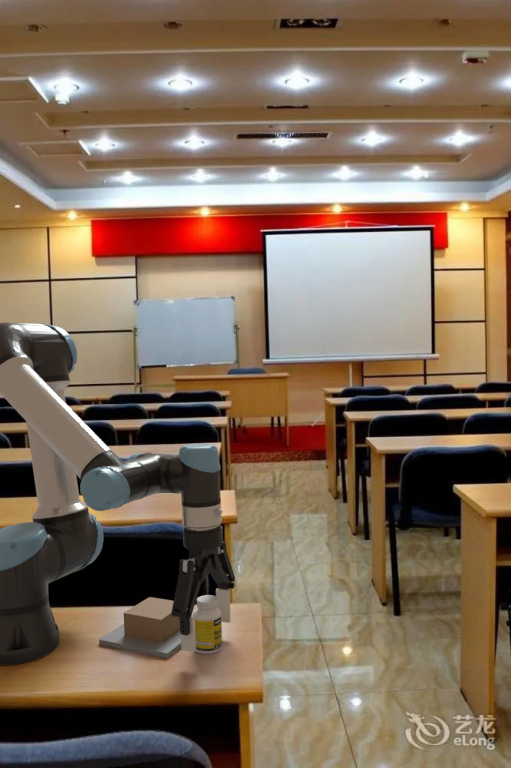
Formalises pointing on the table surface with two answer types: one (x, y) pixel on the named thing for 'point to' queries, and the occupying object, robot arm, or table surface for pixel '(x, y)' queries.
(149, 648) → the base
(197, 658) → the table surface
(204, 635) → the supplement bottle
